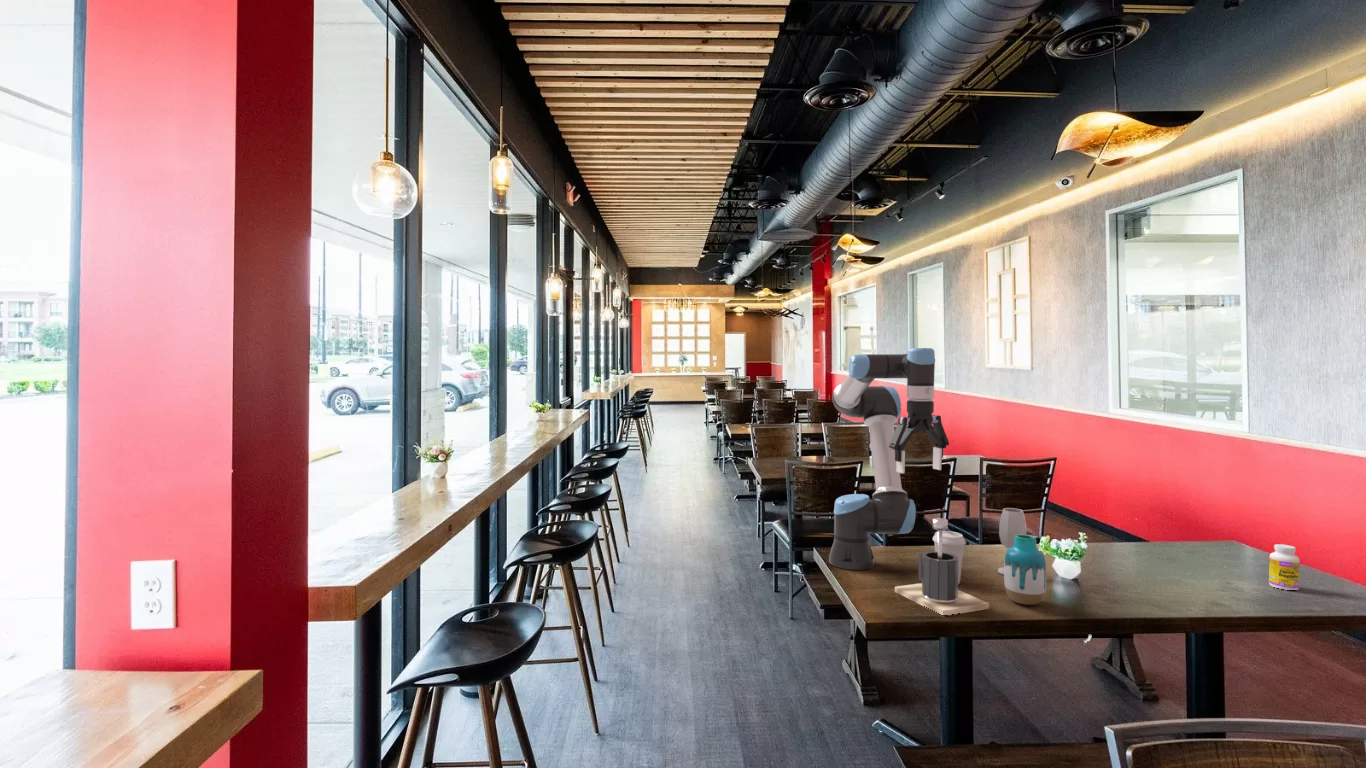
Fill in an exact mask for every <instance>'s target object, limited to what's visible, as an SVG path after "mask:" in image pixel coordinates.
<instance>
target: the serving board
mask: <svg viewBox="0 0 1366 768" xmlns="http://www.w3.org/2000/svg"><path fill="white" fill-rule="evenodd" d="M894 592H895V593H896V594H899V595H900V596H902V597H904V598H905V599H908V600H910V601H912V602H914V603H916V604H918V605H920V606H922V607H924V606H925V607H924V608H926V607H927V608H926V609H928V608H929V609H928V610H930V609H931V610H930V611H932V610H933V611H932V612H934V611H935V612H934V613H936V612H937V613H936V614H938V613H939V614H941V615H948V616H953V615H952V614H954V615H959V614H958V613H960V614H966V613H971V612H976V611H977V612H978V611H984V610H989V609H990V603H989V602H987V601H985V600H982V599H980V598H979V597H975V596H973V595H971V594H969V593H967V592H964V591H962V590H961V589H960V590H959V589H958V597H957V602H955V603H952V604H940V603H934V602H930V601H928V600H926V599H924V598H923V596H922V582H921V583H913V584H906V585H905V584H904V585H897V586H894ZM939 614H938V615H939ZM941 615H940V616H941Z"/></svg>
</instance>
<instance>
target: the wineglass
mask: <svg viewBox="0 0 1366 768" xmlns="http://www.w3.org/2000/svg"><path fill="white" fill-rule="evenodd" d="M1017 534H1026V535H1027V522H1026V517H1025V513H1024V511H1023V509H1019V508H1014V507H1004V508H1003V509H1002V512H1001V516H1000V520H999V525H998V536H999V540H1000V543H1001V545H1002V546H1004V547H1005V548H1006V550H1008V549H1009V548H1011V547H1013V546H1014V539H1015V535H1017ZM997 573H998V574H1000V575H1003V576H1004V566H1003V567H998V569H997Z"/></svg>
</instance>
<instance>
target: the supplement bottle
mask: <svg viewBox="0 0 1366 768" xmlns="http://www.w3.org/2000/svg"><path fill="white" fill-rule="evenodd" d="M1273 548H1274V551H1273V552H1271V553H1270V554H1269V566H1268V567H1269V568H1268V585H1269V586H1270V587H1272V588H1274V587H1275V589H1277V588H1279V589H1278V590H1281V589H1284V590H1283V591H1287V590H1297V591H1299V589H1300V587H1299V586H1300V558H1299V557H1298V556H1297V555H1295V553H1296V550H1297V549H1296V546H1293V545H1288V544H1284V543H1283V544H1282V543H1280V544H1278V543H1276V544H1274V545H1273Z"/></svg>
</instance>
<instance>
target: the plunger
mask: <svg viewBox="0 0 1366 768" xmlns="http://www.w3.org/2000/svg"><path fill="white" fill-rule="evenodd" d="M948 524H949V520H948V519H947V518H942V517H941V518H940V517H935V518H932V529H933V530H936V531H937V532H938V560H942V531H949V529H948V528H949V527H948V526H949V525H948Z"/></svg>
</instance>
